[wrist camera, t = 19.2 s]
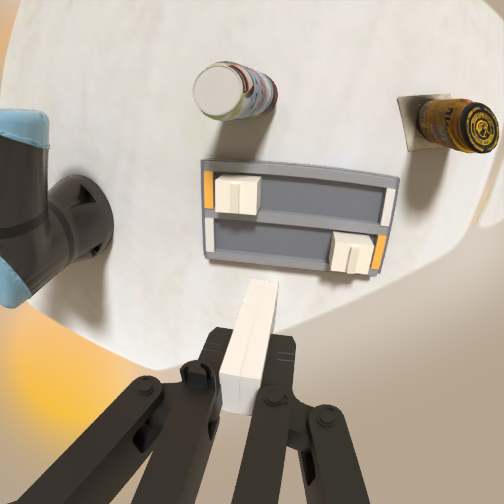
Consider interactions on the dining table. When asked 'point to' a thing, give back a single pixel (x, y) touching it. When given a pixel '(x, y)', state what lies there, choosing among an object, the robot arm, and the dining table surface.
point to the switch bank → (297, 213)
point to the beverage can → (234, 92)
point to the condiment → (448, 123)
